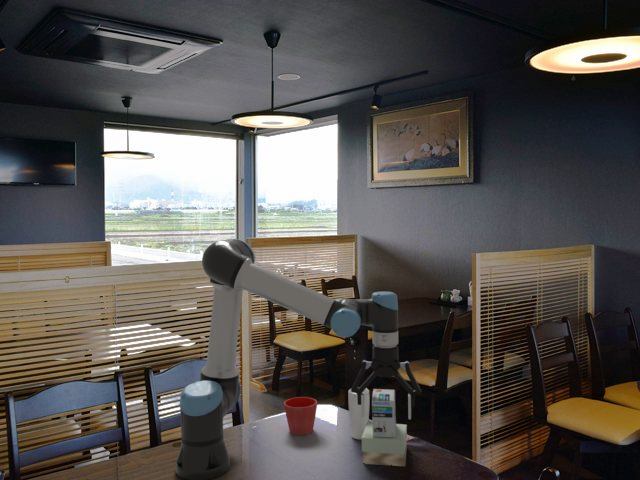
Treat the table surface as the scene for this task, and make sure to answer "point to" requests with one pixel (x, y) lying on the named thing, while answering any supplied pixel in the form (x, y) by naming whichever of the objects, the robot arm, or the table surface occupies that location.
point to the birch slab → (385, 458)
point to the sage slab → (384, 441)
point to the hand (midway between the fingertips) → (386, 416)
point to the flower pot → (300, 414)
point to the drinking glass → (358, 414)
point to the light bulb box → (383, 413)
